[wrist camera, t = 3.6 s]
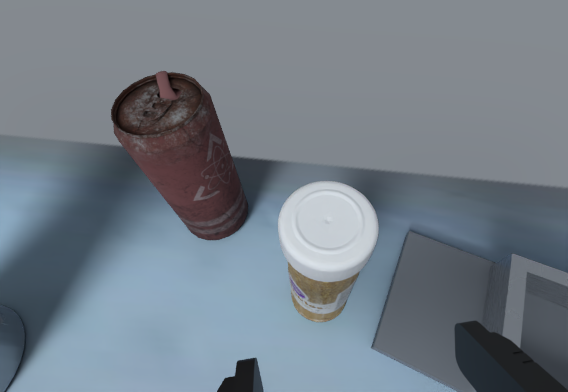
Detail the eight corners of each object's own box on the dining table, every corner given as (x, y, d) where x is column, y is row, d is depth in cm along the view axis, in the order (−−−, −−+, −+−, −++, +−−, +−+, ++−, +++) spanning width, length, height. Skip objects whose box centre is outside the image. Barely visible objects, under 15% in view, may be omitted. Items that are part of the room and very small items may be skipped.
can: (240, 178, 31) (198, 55, 20) (255, 230, 28) (216, 120, 16) (183, 196, 31) (103, 79, 19) (192, 251, 27) (103, 152, 16)
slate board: (678, 501, 17) (697, 508, 16) (371, 348, 22) (373, 346, 21) (658, 330, 22) (672, 328, 21) (406, 235, 27) (409, 230, 26)
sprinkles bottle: (280, 297, 25) (255, 226, 13) (314, 256, 26) (317, 161, 15) (325, 336, 23) (341, 293, 12) (358, 290, 25) (400, 211, 13)
